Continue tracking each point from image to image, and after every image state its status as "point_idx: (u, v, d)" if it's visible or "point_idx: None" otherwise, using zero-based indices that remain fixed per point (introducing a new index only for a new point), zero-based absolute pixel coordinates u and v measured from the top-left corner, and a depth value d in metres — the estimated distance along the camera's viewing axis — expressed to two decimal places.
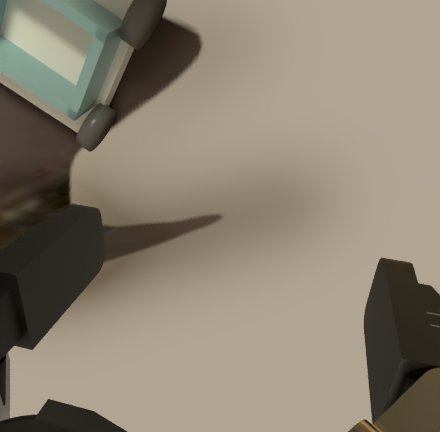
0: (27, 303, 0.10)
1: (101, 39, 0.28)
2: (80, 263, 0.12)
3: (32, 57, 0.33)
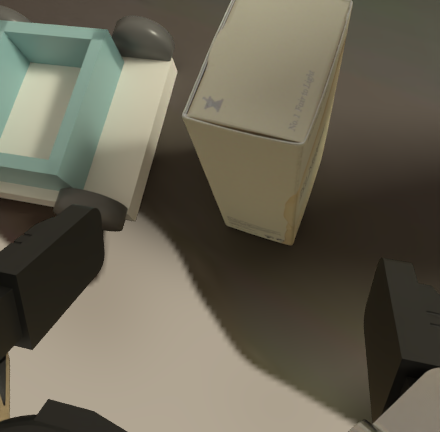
0: (27, 303, 0.10)
1: (47, 169, 0.23)
2: (80, 263, 0.12)
3: (15, 98, 0.28)
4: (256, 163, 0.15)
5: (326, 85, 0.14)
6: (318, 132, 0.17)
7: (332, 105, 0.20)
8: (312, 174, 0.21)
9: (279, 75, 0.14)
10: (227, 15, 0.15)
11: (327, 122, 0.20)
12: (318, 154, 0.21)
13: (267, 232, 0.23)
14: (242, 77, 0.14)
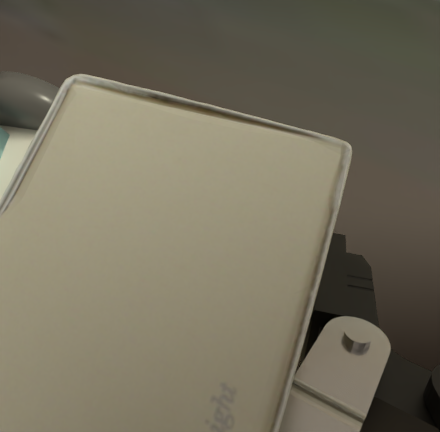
0: None
1: None
2: None
3: None
4: None
5: None
6: None
7: None
8: None
9: (132, 393, 0.05)
10: (22, 172, 0.06)
11: None
12: None
13: None
14: (28, 387, 0.05)
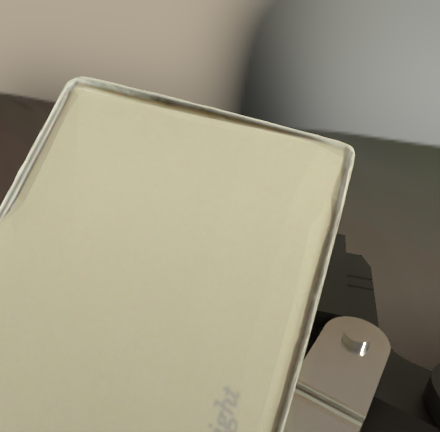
0: None
1: None
2: None
3: None
4: None
5: None
6: None
7: None
8: None
9: (134, 398, 0.05)
10: (24, 175, 0.06)
11: None
12: None
13: None
14: (30, 392, 0.05)
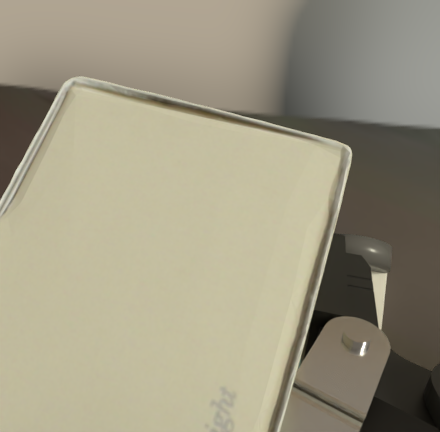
0: None
1: None
2: None
3: None
4: None
5: None
6: None
7: None
8: None
9: (130, 398, 0.05)
10: (21, 175, 0.06)
11: None
12: None
13: None
14: (27, 391, 0.05)
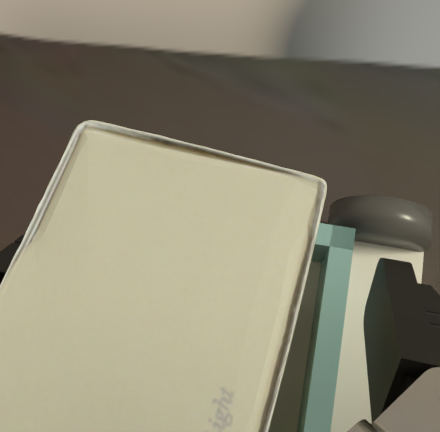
0: None
1: None
2: None
3: None
4: None
5: None
6: None
7: None
8: None
9: (145, 400, 0.05)
10: (43, 209, 0.07)
11: None
12: None
13: None
14: (58, 396, 0.06)
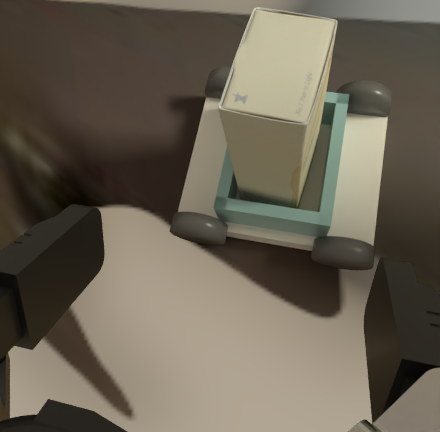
0: (27, 303, 0.10)
1: (320, 220, 0.26)
2: (80, 263, 0.12)
3: None
4: (271, 141, 0.20)
5: (321, 82, 0.19)
6: (315, 118, 0.22)
7: (324, 98, 0.26)
8: (311, 153, 0.27)
9: (287, 76, 0.19)
10: (246, 33, 0.20)
11: (321, 111, 0.26)
12: (315, 137, 0.26)
13: (276, 203, 0.28)
14: (260, 78, 0.19)
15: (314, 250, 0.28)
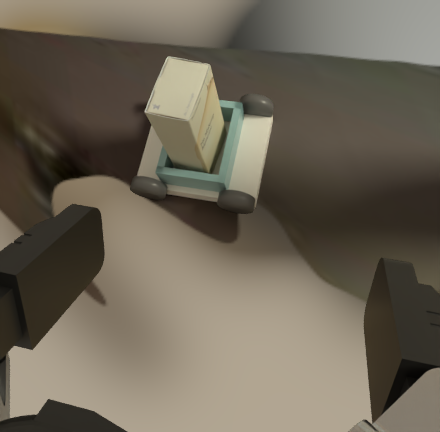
0: (27, 303, 0.09)
1: (218, 179, 0.43)
2: (80, 263, 0.12)
3: None
4: (176, 130, 0.38)
5: (198, 98, 0.36)
6: (204, 117, 0.39)
7: (219, 105, 0.43)
8: (213, 139, 0.44)
9: (181, 95, 0.36)
10: (162, 71, 0.37)
11: (217, 113, 0.43)
12: (215, 129, 0.43)
13: (195, 170, 0.45)
14: (167, 96, 0.36)
15: (217, 199, 0.45)
